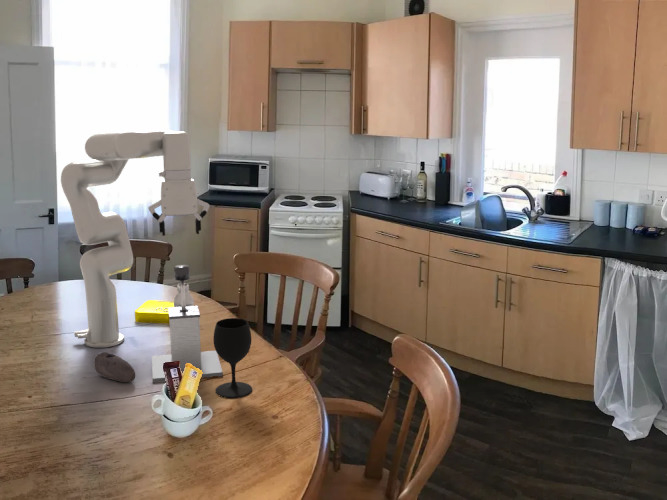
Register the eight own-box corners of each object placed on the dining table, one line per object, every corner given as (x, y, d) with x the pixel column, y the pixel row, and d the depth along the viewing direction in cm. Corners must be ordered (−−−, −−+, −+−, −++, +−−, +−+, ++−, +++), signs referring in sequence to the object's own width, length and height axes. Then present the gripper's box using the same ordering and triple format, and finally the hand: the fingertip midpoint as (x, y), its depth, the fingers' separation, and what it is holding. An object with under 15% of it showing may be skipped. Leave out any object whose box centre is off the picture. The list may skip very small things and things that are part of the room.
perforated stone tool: (141, 382, 212) (140, 360, 210) (127, 388, 208) (125, 365, 206) (107, 370, 220) (106, 349, 219) (93, 376, 216) (91, 354, 214)
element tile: (186, 312, 276) (186, 299, 275) (174, 325, 261) (173, 312, 260) (148, 310, 277) (147, 298, 276) (133, 323, 263) (132, 310, 262)
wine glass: (216, 383, 211) (214, 317, 207) (252, 382, 212) (251, 316, 208) (213, 399, 201) (211, 329, 197) (252, 397, 202) (250, 329, 198)
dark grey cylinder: (177, 333, 217) (174, 269, 213) (176, 328, 221) (173, 265, 217) (192, 331, 218) (190, 268, 214) (191, 327, 223) (189, 264, 218)
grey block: (171, 370, 217) (169, 316, 213) (170, 356, 228) (167, 304, 224) (202, 368, 219) (199, 314, 215) (199, 353, 230) (197, 302, 226)
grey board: (152, 382, 212) (152, 378, 212) (151, 359, 229) (151, 356, 228) (222, 376, 217) (222, 372, 216) (216, 354, 234) (216, 350, 233)
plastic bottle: (191, 347, 239) (189, 288, 234) (171, 346, 240) (169, 287, 236) (198, 340, 245) (196, 283, 240) (179, 339, 246) (177, 281, 242)
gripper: (146, 178, 204) (150, 238, 208) (209, 176, 208) (211, 235, 212) (146, 174, 211) (149, 233, 215) (207, 172, 215) (209, 230, 219)
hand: (180, 234), depth 213 cm, fingers open, 9 cm apart
